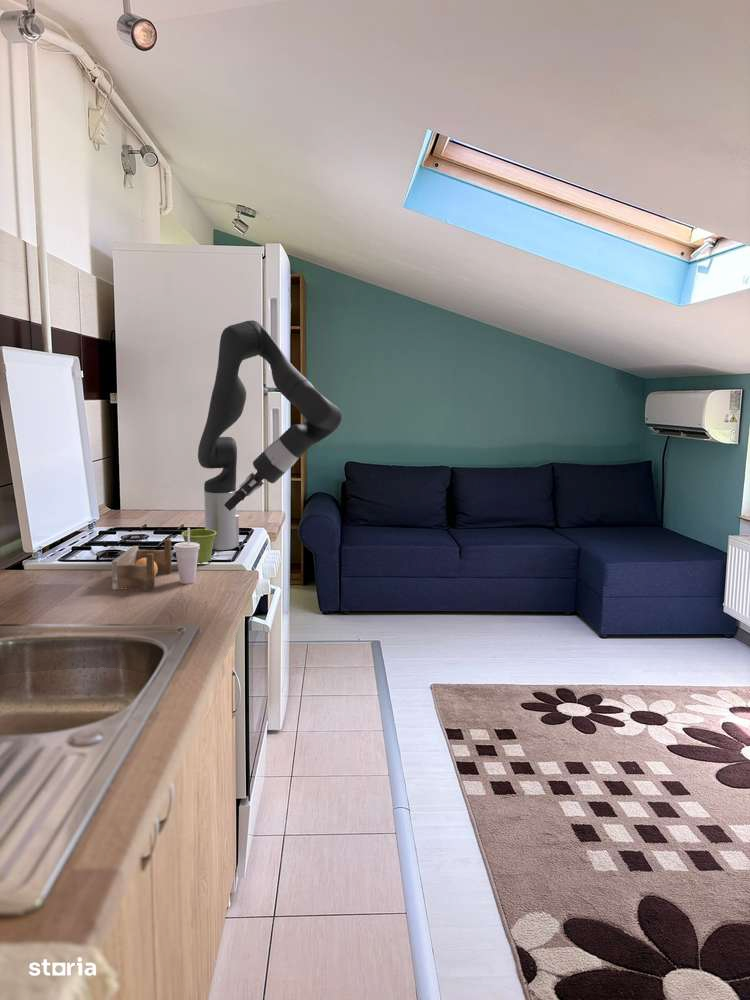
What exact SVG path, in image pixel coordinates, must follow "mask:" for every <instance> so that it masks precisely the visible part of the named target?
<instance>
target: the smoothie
mask: <svg viewBox="0 0 750 1000" xmlns="http://www.w3.org/2000/svg"><path fill="white" fill-rule="evenodd" d="M187 530H188V542H185V541H183V542H178V543H175V544H174V545H173V550H175V554H176V557H175V558H176V563H177V568H178V569H177V571H178V576H179V581H180V582H179V583H181V584H184V585H185V584H186V585H187V584H189V585H190V584H194V583H196V577H197V566H198V565H197V559H198V550H199V549H200V544H199V543H195V542H190V530H191V528H190V527H187Z"/></svg>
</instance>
